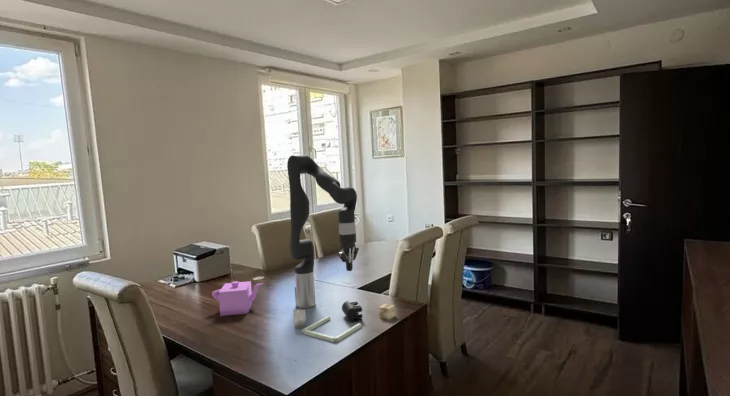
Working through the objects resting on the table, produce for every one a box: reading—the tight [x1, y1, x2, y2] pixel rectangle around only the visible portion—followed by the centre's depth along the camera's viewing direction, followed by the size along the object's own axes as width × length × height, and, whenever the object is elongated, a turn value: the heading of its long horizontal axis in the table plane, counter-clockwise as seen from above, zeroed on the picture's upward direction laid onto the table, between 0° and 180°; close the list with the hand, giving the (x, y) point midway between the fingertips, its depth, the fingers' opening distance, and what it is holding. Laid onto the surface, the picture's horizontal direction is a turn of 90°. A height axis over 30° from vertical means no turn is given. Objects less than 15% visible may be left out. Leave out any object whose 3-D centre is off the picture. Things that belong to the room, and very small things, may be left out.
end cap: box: [341, 300, 363, 323], centre depth 180 cm, size 10×7×7 cm
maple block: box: [378, 303, 396, 320], centre depth 180 cm, size 5×5×5 cm
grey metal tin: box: [293, 308, 307, 330], centre depth 174 cm, size 5×5×7 cm
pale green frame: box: [301, 315, 362, 344], centre depth 168 cm, size 18×17×2 cm
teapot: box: [211, 280, 264, 317], centre depth 199 cm, size 15×25×14 cm, turn 98°
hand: (349, 270), depth 178 cm, fingers closed
